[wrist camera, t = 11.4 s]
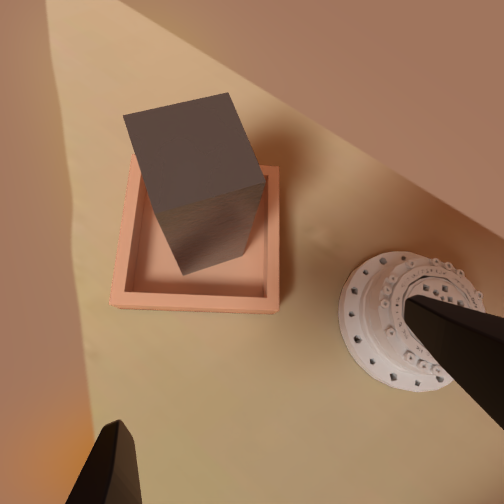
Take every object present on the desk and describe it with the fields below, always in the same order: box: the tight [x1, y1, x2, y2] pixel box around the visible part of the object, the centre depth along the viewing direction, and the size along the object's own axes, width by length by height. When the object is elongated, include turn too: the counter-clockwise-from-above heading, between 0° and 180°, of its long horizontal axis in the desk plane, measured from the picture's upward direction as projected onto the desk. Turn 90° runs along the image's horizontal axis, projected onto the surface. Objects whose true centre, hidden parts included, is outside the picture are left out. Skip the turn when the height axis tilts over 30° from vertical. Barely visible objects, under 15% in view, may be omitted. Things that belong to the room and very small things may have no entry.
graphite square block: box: [123, 93, 266, 276], centre depth 18 cm, size 4×4×11 cm
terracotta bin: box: [109, 154, 279, 314], centre depth 22 cm, size 11×11×2 cm
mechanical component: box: [338, 251, 486, 392], centre depth 22 cm, size 10×4×10 cm
